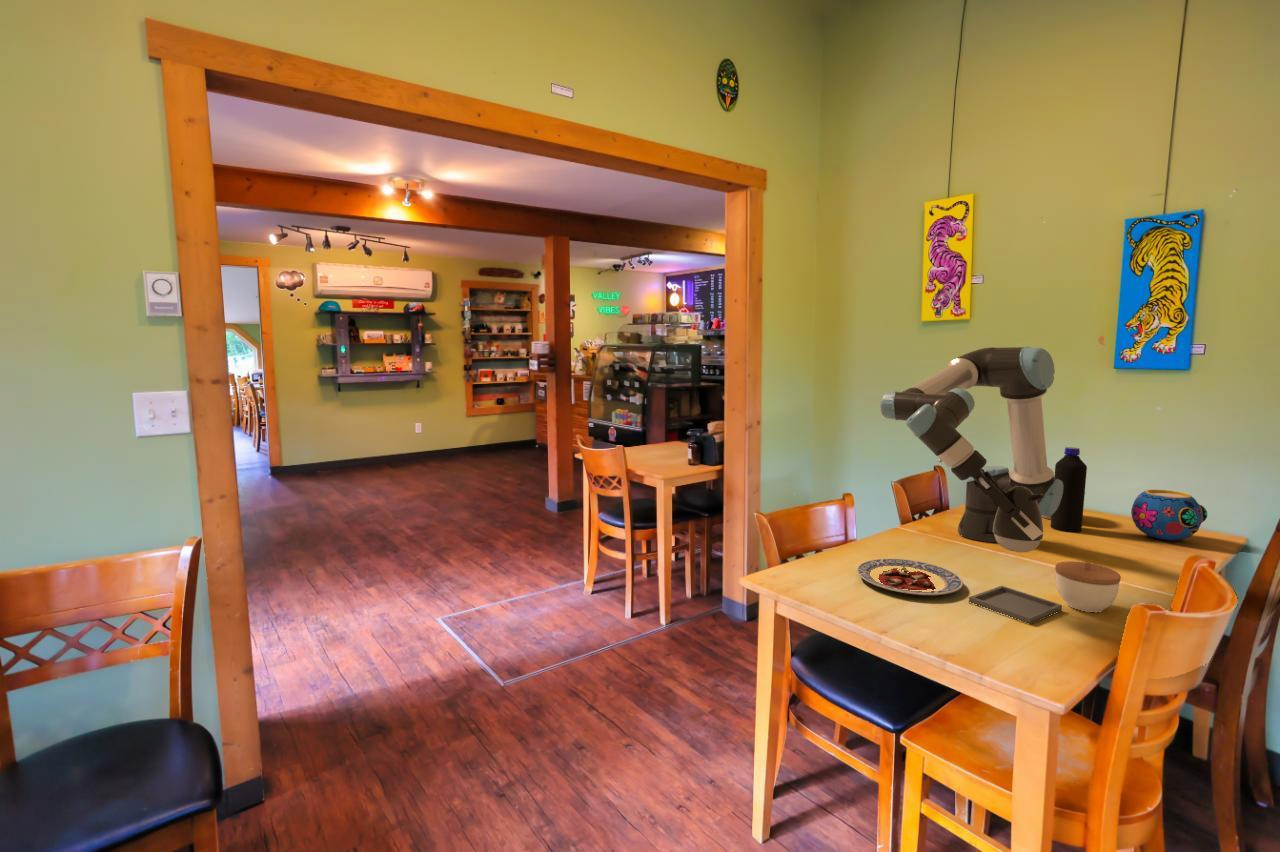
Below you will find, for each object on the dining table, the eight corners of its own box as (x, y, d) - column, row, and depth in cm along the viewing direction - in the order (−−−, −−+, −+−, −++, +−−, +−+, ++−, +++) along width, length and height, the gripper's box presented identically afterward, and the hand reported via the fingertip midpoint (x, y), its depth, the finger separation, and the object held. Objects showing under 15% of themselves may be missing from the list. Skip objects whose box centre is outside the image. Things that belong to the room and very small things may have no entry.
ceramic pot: (1186, 550, 189) (1192, 502, 187) (1118, 535, 204) (1123, 491, 202) (1209, 541, 198) (1214, 495, 196) (1142, 527, 213) (1147, 485, 211)
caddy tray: (968, 602, 151) (969, 597, 150) (1001, 591, 158) (1001, 585, 158) (1029, 624, 139) (1029, 618, 138) (1061, 611, 146) (1062, 604, 146)
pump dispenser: (1025, 558, 140) (1031, 492, 138) (982, 546, 149) (986, 484, 147) (1052, 552, 144) (1057, 488, 143) (1008, 540, 154) (1012, 480, 152)
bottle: (1054, 530, 210) (1060, 449, 206) (1047, 524, 218) (1053, 445, 214) (1085, 533, 206) (1092, 450, 203) (1077, 526, 215) (1083, 446, 211)
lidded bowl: (1130, 614, 144) (1135, 568, 143) (1090, 620, 140) (1094, 574, 139) (1078, 593, 156) (1082, 551, 155) (1040, 599, 152) (1043, 556, 151)
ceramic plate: (969, 608, 148) (970, 596, 148) (855, 594, 157) (856, 583, 156) (955, 572, 172) (956, 562, 172) (857, 561, 181) (857, 552, 180)
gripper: (947, 461, 161) (1013, 527, 156) (951, 477, 141) (1027, 553, 136) (972, 442, 158) (1039, 509, 153) (979, 456, 138) (1057, 533, 133)
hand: (1033, 530), depth 145 cm, fingers closed on pump dispenser, 10 cm apart
